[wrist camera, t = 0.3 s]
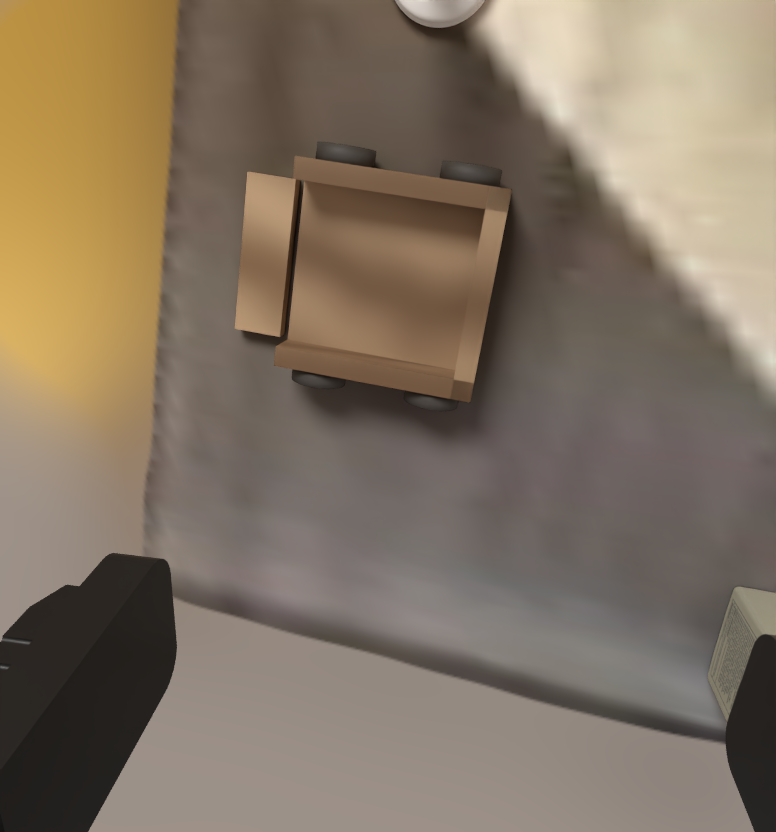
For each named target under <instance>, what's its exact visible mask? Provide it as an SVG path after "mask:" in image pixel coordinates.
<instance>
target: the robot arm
mask: <svg viewBox="0 0 776 832" xmlns="http://www.w3.org/2000/svg"><path fill="white" fill-rule="evenodd" d="M176 643H177V642H176V630H175V620H174V607H173V595H172V583H171V573H170V568H169V565H168V563H167V561H166V560H164V559H159V558H151V557H142V556H134V555H125V554H118V553H112V554H109V555H107V556H106V557H105V558H104V559H103V560H102V561H101V562H100V563H99V565H98V566H97V567H96V568H95V569H94V570H93V571H92V573H91V574H90V575H89V576H88V577H87V578H86V580H85V581H84V582H83V583H82V584H81V585H80V586H71V585H65V586H64V587H62V588H60V589H58V590H57V591H55V592H54V593H52V594H50V595H49V596H47V597H45V598H44V599H42V600H40V601H39V602H37V603H36V604H34V605H32V606H30V607H29V608H28V609H27V610H26V611H25V612H24V614H23V615H22V616H21V617H20V618H19V619H18V620H17V621H16V622H15V623H14V624H13V625H12V626H11V627H10V628H9V630H8V631H7V632H6V633H5V634H4V635H3V638H2V641H1V642H0V832H88V831H89V829H90V827H91V825H92V823H93V822H94V820H95V818H96V816H97V815H98V813H99V811H100V809H101V807H102V805H103V804H104V802H105V800H106V798H107V796H108V795H109V793H110V791H111V789H112V787H113V786H114V784H115V782H116V780H117V778H118V777H119V775H120V773H121V771H122V769H123V768H124V766H125V764H126V762H127V760H128V758H129V757H130V755H131V753H132V751H133V749H134V748H135V746H136V744H137V742H138V740H139V738H140V737H141V735H142V733H143V731H144V729H145V728H146V726H147V724H148V722H149V721H150V719H151V717H152V715H153V713H154V711H155V710H156V708H157V706H158V704H159V702H160V700H161V699H162V697H163V695H164V693H165V691H166V689H167V687H168V685H169V683H170V679H171V677H172V673H173V670H174V665H175V660H176V650H177V644H176ZM726 751H727V758H728V763H729V766H730V770H731V773H732V775H733V778H734V781H735V783H736V785H737V788H738V791H739V793H740V796H741V798H742V801H743V803H744V806H745V808H746V811H747V813H748V816H749V818H750V821H751V823H752V826H753V829H754V831H755V832H776V635H770V634H763V635H761V636H759V637H758V638H757V640H756V641H755V643H754V645H753V648H752V650H751V653H750V656H749V659H748V662H747V665H746V668H745V671H744V674H743V677H742V680H741V682H740V685H739V688H738V691H737V694H736V697H735V700H734V703H733V706H732V709H731V712H730V715H729V718H728V721H727V727H726Z"/></svg>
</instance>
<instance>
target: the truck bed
mask: <svg viewBox="0 0 776 832" xmlns="http://www.w3.org/2000/svg"><path fill="white" fill-rule="evenodd" d="M375 157H376V151H374V150H370V149H365V148H360V147H355V146H349V145H343V144H336V143H329V142H317V152H316V159H312V158H306V157H299V156H295V161H294V171H293V179H291V178H285V177H279V176H272V175H266V174H260V173H254V172H248V173H247V185H246V198H245V210H244V222H243V235H242V247H241V260H240V272H239V284H238V297H237V309H236V321H235V329H239V330H245V331H250V332H256V333H261V334H266V335H272V336H277V337H281V336H282V335H284V332H285V323H286V313H287V304H288V294H289V284H290V275H291V265H292V255H293V246H294V236H295V227H296V217H297V207H298V198H299V188H300V180H304V190H303V199H302V209H301V218H300V228H299V237H298V247H297V256H296V265H295V275H294V284H293V294H292V303H291V313H290V322H289V332H288V339H287V340H286V341H284V342H282V343H281V344H279V345H277V346H276V350H275V360H274V366H278V367H284V368H289V369H293V370H292V380H293V381H295V382H297V383H299V384H301V385H305V386H308V387H314V388H322V389H335V388H340V387H343V386H344V385H345V379H347V380H353V381H358V382H363V383H368V384H374V385H379V386H384V387H390V388H395V389H400V390H405V392H404V400H405V401H406V402H408V403H409V404H411V405H414V406H417V407H420V408H424V409H429V410H436V411H450V410H454V409H456V408H457V404H458V400H459V401H464V402H469V403H470V401H471V395H472V390H473V385H474V380H475V375H476V370H477V365H478V360H479V355H480V350H481V345H482V339H483V334H484V329H485V324H486V319H487V314H488V309H489V304H490V299H491V294H492V289H493V283H494V278H495V273H496V268H497V263H498V258H499V253H500V248H501V243H502V238H503V233H504V228H505V222H506V217H507V212H508V207H509V202H510V197H511V192H512V189H507V188H500V187H499V184H500V179H501V173H502V170H500V169H496V168H492V167H487V166H481V165H475V164H469V163H461V162H453V161H442V167H441V173H440V178H435V177H429V176H422V175H416V174H409V173H403V172H397V171H390V170H384V169H377V168H374V164H375Z"/></svg>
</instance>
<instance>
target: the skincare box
mask: <svg viewBox="0 0 776 832" xmlns="http://www.w3.org/2000/svg"><path fill="white" fill-rule="evenodd" d="M763 634H770V635H776V593H773V592H767V591H762V590H756V589H751V588H745V587H736V588H734V590H733V593H732V596H731V599H730V602H729V605H728V608H727V611H726V614H725V617H724V620H723V624H722V627H721V630H720V634H719V637H718V640H717V643H716V647H715V650H714V653H713V657H712V661H711V665H710V668H709V672H708V681H709V683H710V685H711V687H712V690H713V692H714V694H715V696H716V699H717V701H718V703H719V705H720V708H721V710H722V712H723V714H724V717H725V719H726V721H728V718H729V715H730V712H731V709H732V706H733V703H734V700H735V697H736V694H737V691H738V688H739V685H740V682H741V680H742V677H743V674H744V671H745V668H746V665H747V662H748V659H749V656H750V653H751V650H752V648H753V645H754V643H755V641H756V640H757V638H758V637H759V636H761V635H763Z"/></svg>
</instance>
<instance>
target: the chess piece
mask: <svg viewBox="0 0 776 832" xmlns="http://www.w3.org/2000/svg"><path fill="white" fill-rule="evenodd" d="M395 1H396V3H397V5H398V6H399V8H400V9H401V10H402V11H403V12H404V13H405V14H406V15H407V16H408V17H409V18H410V19H412V20H413V21H415V22H417V23H419V24H421V25H424V26H427V27H433V28H444V27H450V26H453V25H456V24H459V23H461V22H463V21H464V20H466V19H468V18H469V17H470V16H472V15H473V14H474V13H475V12H476V11H477V10H478V9H479V8H480V7H481V5H482V4H483V3H484V1H485V0H395Z"/></svg>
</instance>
